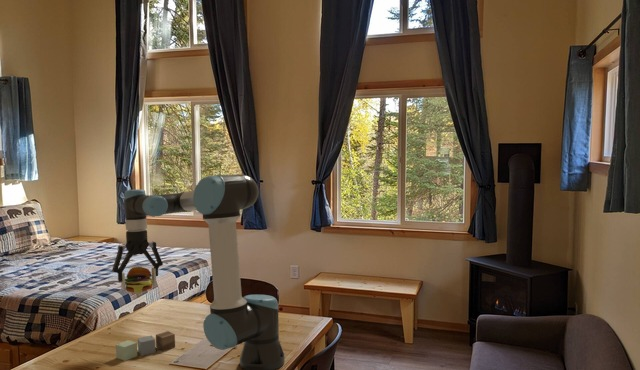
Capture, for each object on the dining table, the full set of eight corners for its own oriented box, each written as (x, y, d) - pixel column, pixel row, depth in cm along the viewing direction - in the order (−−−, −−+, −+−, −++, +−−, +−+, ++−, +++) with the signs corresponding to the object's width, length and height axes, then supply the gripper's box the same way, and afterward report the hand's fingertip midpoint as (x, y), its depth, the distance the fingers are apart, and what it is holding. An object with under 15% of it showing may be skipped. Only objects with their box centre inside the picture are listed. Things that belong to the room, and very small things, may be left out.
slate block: (155, 352, 176) (154, 339, 176) (141, 356, 173) (140, 342, 173) (152, 348, 180) (151, 335, 180) (138, 351, 178) (137, 338, 177)
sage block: (137, 356, 173) (136, 342, 173) (125, 361, 169) (124, 347, 169) (128, 353, 176) (128, 339, 176) (116, 358, 172) (115, 344, 172)
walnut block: (175, 347, 181) (174, 334, 181) (162, 351, 177) (162, 337, 177) (168, 343, 184) (167, 331, 184) (156, 347, 181) (155, 334, 181)
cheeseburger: (122, 295, 177) (122, 267, 178) (126, 294, 187) (125, 268, 189) (152, 292, 179) (150, 265, 181) (154, 292, 189) (153, 266, 191)
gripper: (163, 226, 193) (165, 280, 194) (101, 232, 179) (104, 290, 180) (170, 227, 187) (172, 283, 188) (106, 234, 173) (109, 294, 174)
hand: (139, 287), depth 184 cm, fingers closed on cheeseburger, 11 cm apart
